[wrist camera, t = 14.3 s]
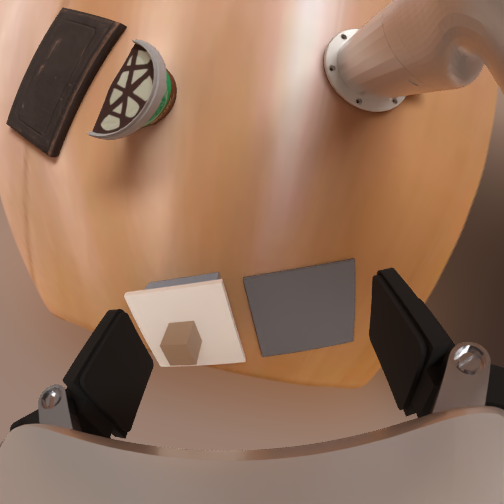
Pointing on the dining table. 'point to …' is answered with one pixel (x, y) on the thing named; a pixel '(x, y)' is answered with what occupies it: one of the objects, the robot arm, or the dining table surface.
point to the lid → (188, 324)
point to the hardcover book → (61, 77)
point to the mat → (303, 307)
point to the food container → (136, 94)
